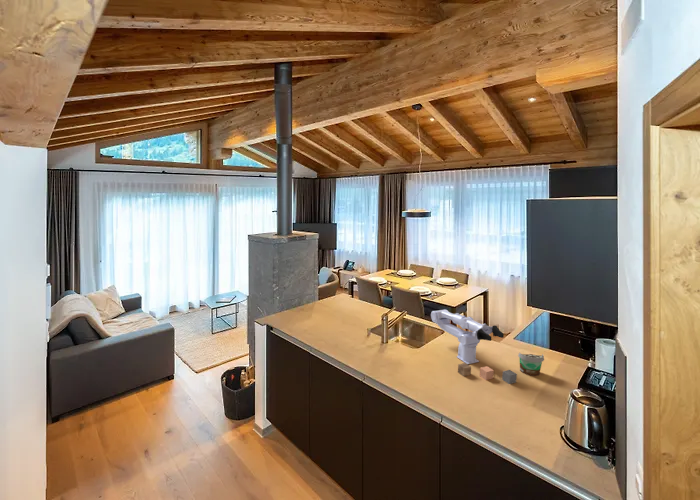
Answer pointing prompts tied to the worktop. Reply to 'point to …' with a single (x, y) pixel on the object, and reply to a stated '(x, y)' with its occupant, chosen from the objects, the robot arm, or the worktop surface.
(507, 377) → the charcoal block
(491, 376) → the terracotta block
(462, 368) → the walnut block
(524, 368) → the food container
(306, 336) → the worktop surface
